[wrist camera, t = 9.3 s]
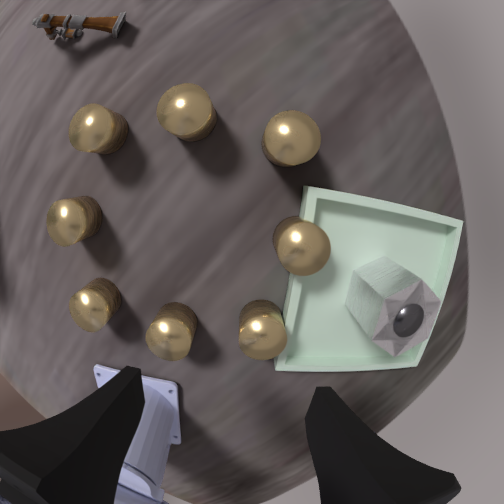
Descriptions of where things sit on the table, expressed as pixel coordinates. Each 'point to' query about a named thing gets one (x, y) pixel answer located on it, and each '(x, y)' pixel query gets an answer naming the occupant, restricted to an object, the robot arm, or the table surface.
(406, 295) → the steel nut
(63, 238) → the set of brass balls
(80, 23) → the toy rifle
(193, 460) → the table surface
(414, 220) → the tray
